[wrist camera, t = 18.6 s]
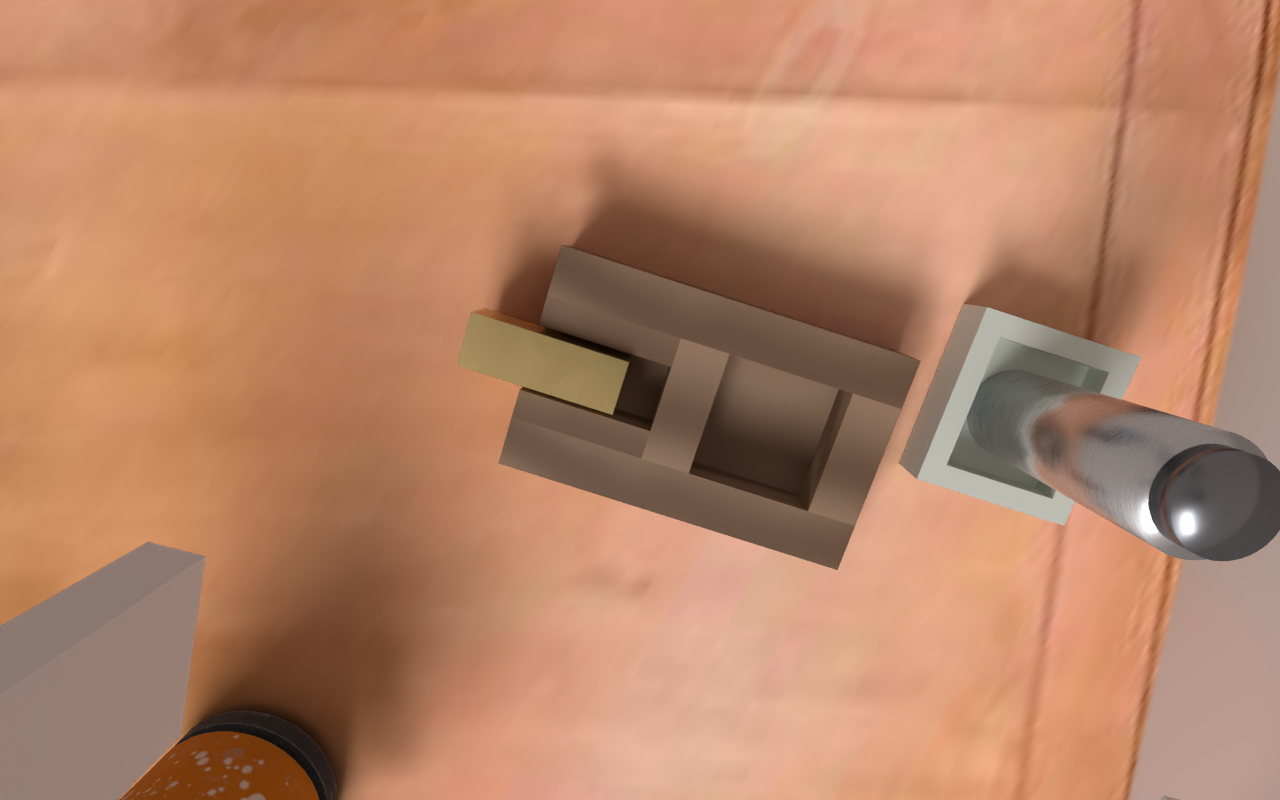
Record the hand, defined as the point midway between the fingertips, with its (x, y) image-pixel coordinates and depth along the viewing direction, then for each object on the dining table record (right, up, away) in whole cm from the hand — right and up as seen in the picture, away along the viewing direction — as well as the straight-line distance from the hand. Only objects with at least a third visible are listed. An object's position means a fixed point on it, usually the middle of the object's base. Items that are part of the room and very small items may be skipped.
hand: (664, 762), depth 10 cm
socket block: (+3, +5, +25) cm, 25 cm away
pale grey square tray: (+17, +5, +24) cm, 30 cm away
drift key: (-4, +7, +25) cm, 26 cm away
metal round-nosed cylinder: (+17, +4, +23) cm, 29 cm away
